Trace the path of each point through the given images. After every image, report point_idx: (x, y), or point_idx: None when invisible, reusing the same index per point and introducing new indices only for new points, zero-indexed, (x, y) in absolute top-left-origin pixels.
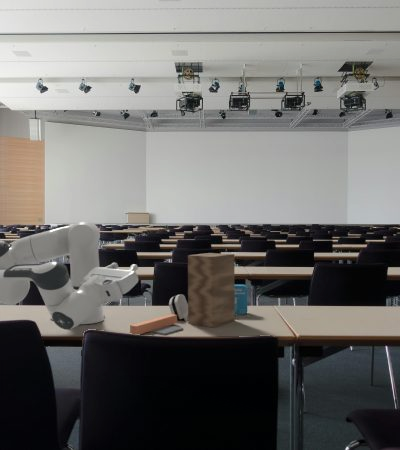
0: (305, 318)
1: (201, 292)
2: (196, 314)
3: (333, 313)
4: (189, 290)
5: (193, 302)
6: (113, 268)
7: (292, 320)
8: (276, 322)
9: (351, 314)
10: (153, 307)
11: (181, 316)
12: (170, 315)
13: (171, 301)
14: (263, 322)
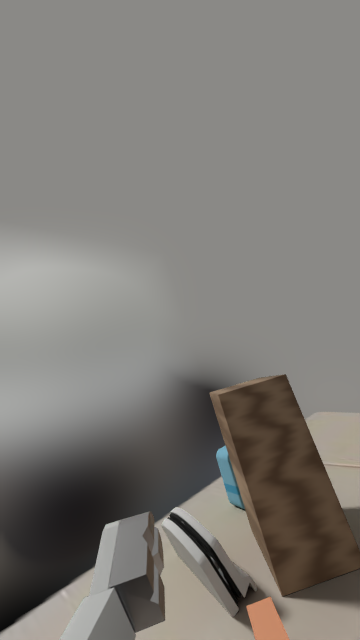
0: (337, 450)
1: (289, 474)
2: (298, 550)
3: (321, 433)
4: (252, 485)
5: (275, 516)
6: (134, 623)
7: (344, 459)
8: (351, 473)
9: (334, 427)
10: (89, 583)
11: (243, 582)
12: (264, 618)
13: (198, 547)
14: (344, 484)
